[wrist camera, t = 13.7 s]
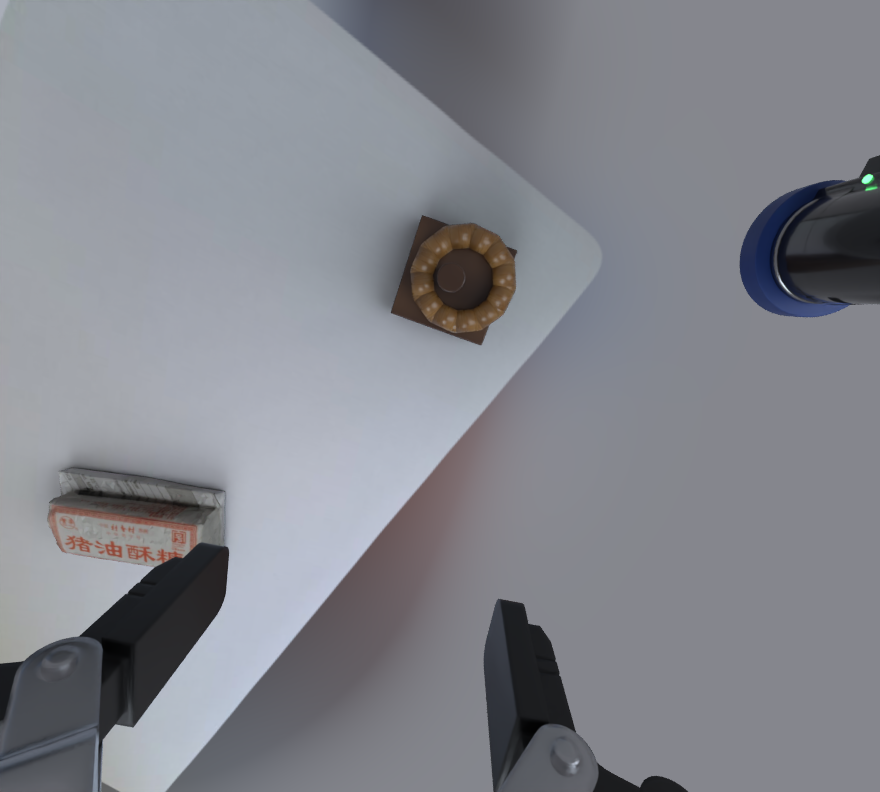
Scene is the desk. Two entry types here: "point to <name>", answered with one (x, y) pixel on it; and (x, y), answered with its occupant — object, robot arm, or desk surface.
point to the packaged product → (133, 517)
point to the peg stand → (448, 282)
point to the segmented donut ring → (442, 245)
